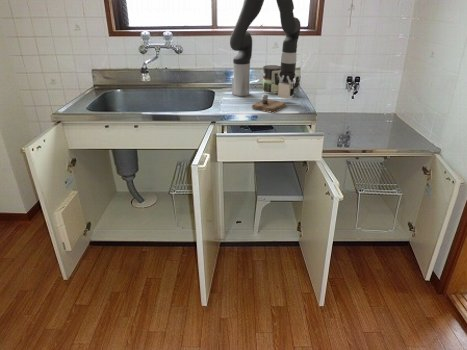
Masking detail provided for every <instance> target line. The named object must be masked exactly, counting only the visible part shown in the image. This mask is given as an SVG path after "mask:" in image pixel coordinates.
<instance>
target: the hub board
mask: <svg viewBox="0 0 467 350" xmlns="http://www.w3.org/2000/svg"><path fill="white" fill-rule="evenodd" d="M262 101H263V99H262V100H261V101H258V102H256V103H252V106H251V107H252V109H253V110H258V111H262V110H265V111H264V112H267V111H271V112H270V113H272V112H274V111H276V112H278V111H279V109H280V110H282V109H283V108H285V107H287V102H286V101H280V100H275V99H274V100H273V99H269V98H268V104H262ZM277 110H278V111H277ZM274 113H275V112H274Z"/></svg>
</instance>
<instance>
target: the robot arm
mask: <svg viewBox="0 0 467 350" xmlns="http://www.w3.org/2000/svg"><path fill="white" fill-rule="evenodd" d="M275 1H276V5H277V8H278V10H279V17H280V25H281V28H282V29H281V30H282V31H283V32H284V33H285V38H284V40H283V42H282V49H281V51H282V52H281V57H280V66H281V68H280V70H281V71H280V73H278V72H277V73H275V74H274V75H275V85H278V87H279V83H283V82H289V85H291V90H290V96H292V95H293V96H294V94H295V89H298V88H297V87H298V86H299V87H300V82H301V75H296V69H297V68H296V66H297V51H298V49H297V48H298V40H299V38H300V37H299V36H300V33H301V25H302V24H301V20H300V19H299V18H298V17H296V16H295V15H294V9H295V6H294V1H293V0H275ZM264 2H265V0H243V3H242V7H241V9H240V13H239V16H238V18H237V21H236V24H235V26H234V29H233V31H232V32H231V35H230V38H229V45H230V48H231V49H232V51H235V52H237V54H236V55H235V56H234V57H233V60H232V61H233V62H232V64H233V70H232V71H233V73H232V74H233V76H232V77H231V95H233V96H237V97H246V96H250V92H251V91H250V89H251V88H250V83H251V81H250V80H251V79H250V77H251V75H250V74H251V59H252V54H253V53H252V52H253V37H252V35H251V33H250V32H249V31H247V30H248V29H249V27H250V26H251V24H252V23H253V22H254V20H255V19H256V18H257V17H258V16H259V14H260V12H261V10H262V8H263V5H264ZM279 76H280V77H281V79H280V82H279ZM294 80H295V81H294Z"/></svg>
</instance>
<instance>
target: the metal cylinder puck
mask: <svg viewBox="0 0 467 350" xmlns="http://www.w3.org/2000/svg"><path fill="white" fill-rule="evenodd" d="M268 99H269V95H268V94H263V95H262V100H263V101H262V100H261V101H262V104H268Z"/></svg>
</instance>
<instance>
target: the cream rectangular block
mask: <svg viewBox="0 0 467 350" xmlns="http://www.w3.org/2000/svg"><path fill="white" fill-rule="evenodd" d="M290 90H291V85H289V82H283V83H279V87H278V93H277V98H281V99H286V100H288V99H291V98H293V97H294V94H293V95H292V96H290Z"/></svg>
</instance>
